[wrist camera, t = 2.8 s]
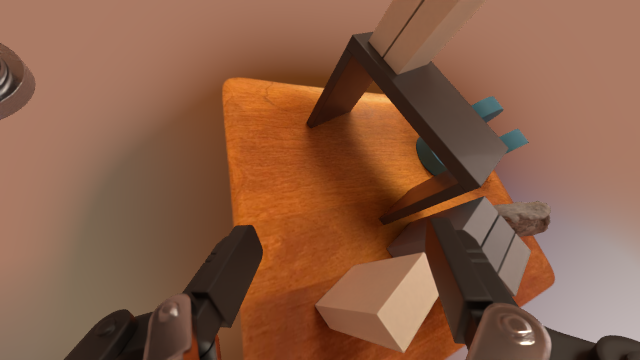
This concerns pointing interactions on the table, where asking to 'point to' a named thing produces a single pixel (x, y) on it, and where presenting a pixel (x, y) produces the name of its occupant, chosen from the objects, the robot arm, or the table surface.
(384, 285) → the beige rectangular block
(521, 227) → the stone
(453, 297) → the robot arm
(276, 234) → the table surface
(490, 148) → the shelf
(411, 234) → the grey books
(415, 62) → the white books
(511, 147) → the bracket
